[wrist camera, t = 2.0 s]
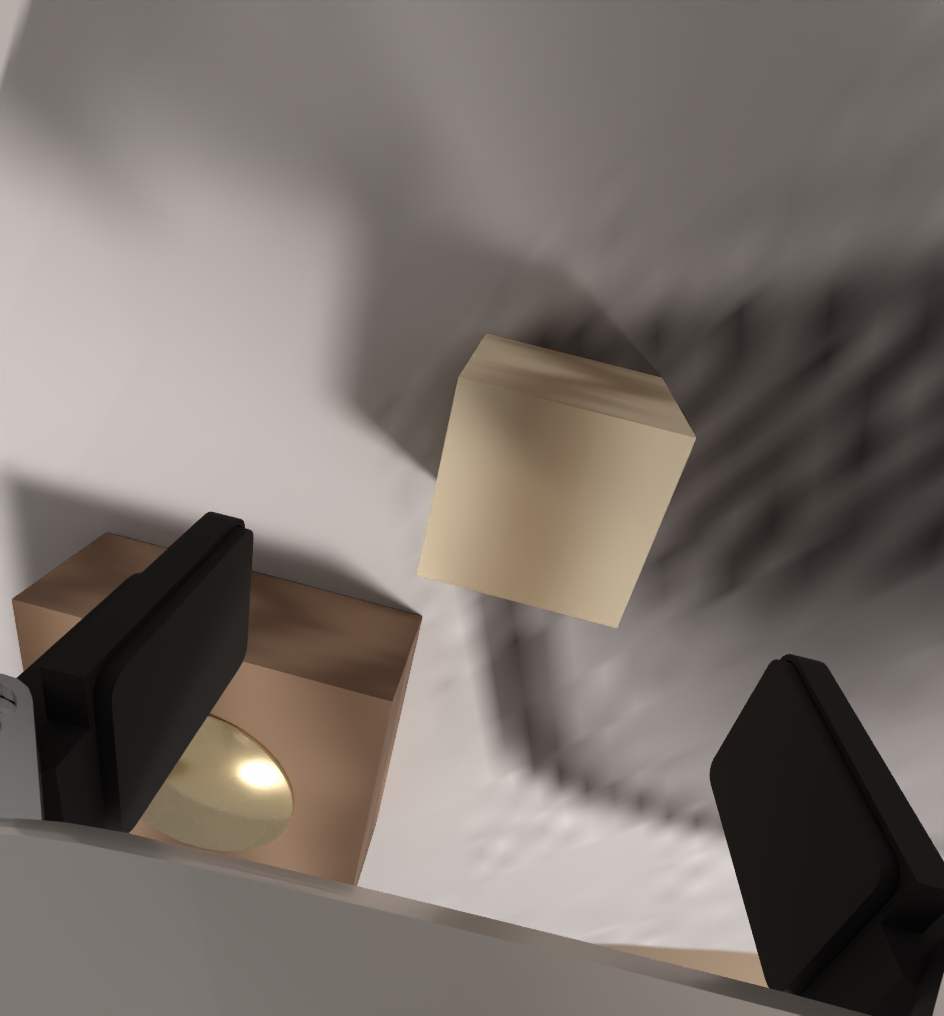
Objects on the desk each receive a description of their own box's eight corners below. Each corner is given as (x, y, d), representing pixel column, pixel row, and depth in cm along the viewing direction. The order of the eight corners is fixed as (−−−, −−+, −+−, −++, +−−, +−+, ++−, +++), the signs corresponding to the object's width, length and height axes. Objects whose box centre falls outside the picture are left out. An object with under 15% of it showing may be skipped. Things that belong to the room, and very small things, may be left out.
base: (422, 616, 26) (390, 706, 21) (375, 824, 32) (343, 928, 28) (106, 532, 26) (7, 602, 22) (122, 754, 33) (48, 845, 28)
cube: (662, 377, 20) (696, 438, 15) (605, 530, 23) (617, 628, 18) (486, 332, 20) (458, 377, 15) (450, 490, 23) (416, 575, 18)
